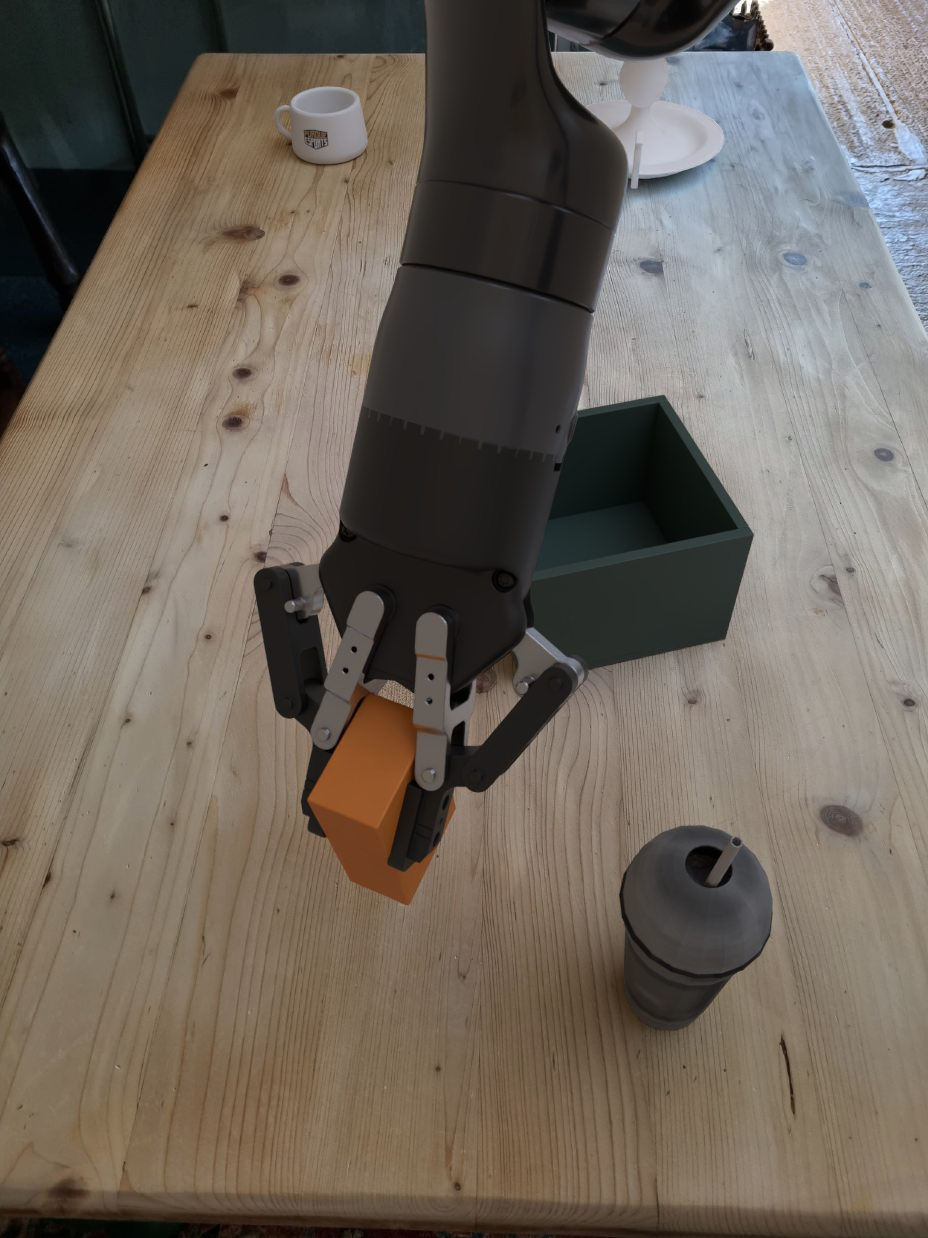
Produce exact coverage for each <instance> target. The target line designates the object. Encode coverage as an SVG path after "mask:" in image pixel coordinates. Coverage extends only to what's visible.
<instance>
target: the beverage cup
mask: <svg viewBox="0 0 928 1238" xmlns="http://www.w3.org/2000/svg"><path fill="white" fill-rule="evenodd" d="M772 894H773V893H772V890H771V886H770V881H769V877H768V875H767V873H766V870H765V869H764V866H762V864H761V862H760V860H759V859H758V857H757V855H756V854H755V853H754V852H753V851H751V849H750V848H749V847H748V846H746V844H744V842H743V839H742V838H741V837H740V836H737V835H734V836H733V835H731V834H730V833H728V832H726V831H724V830H722V829H721V828H715V827H711V826H707V825H703V824H696V825H695V824H694V825H692V824H691V825H680V826H675V827H673V828H670V829H667V830H664V831H661V832H660V833H658V834H657V835H656V836H655V837H653V838H652V839H651V840H649V841H648V842H647V843H645V844H644V845H643V846H642V847H641V848H640V849H639V851H637V854H636V855H634V856H633V859H632V860H631V861H630V863H629V864H628V866H627V868H626V870H624V872H623V876H622V880H621V883H620V888H619V893H618V897H619V898H618V899H619V907H620V913H621V919H622V921H623V925H624V929H625V930H624V950H623V983H624V985H623V986H624V994H625V999H626V1002H627V1004H628V1005H629V1008H630V1010H631V1011H632V1012H633V1013H634V1014H635V1016H636V1017H637V1018H638V1020H639V1021H641V1022H643V1023H644V1024H646V1025H647V1026H649V1027H650V1028H653V1029H656V1030H660V1031H663V1032H671V1031H673V1032H675V1031H679V1030H682V1029H684V1028H687V1027H689V1026H690V1025H691V1024H692V1023H694V1021H696V1020H697V1019H698V1017H700V1016H701V1015H702V1014H703V1013H704V1012H705V1011H706V1010H707V1008H708V1007H709V1006H710V1005H711V1004H712V1002H713V1001H714V1000H715V998H716V997H717V996H718V995H719V993H720V992H721V991H722V990H723V989H724V987H725V986H726V985H727V983H728V982H729V981H731V979H732V977H734V976H735V975H736V974H738V973H739V972H741V971H744V970H745V969H746V968H747V967H749V966H750V965H751V964H752V963H753V962H754V961H755V960H757V959H758V958H759V957H760V956H761V954H763V951H764V949H765V948H766V945H767V943H768V942H769V939H770V937H771V932H772V926H773V925H772V923H773V914H774V911H773V907H774V901H773V900H774V898H773V895H772Z"/></svg>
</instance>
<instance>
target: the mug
mask: <svg viewBox="0 0 928 1238" xmlns="http://www.w3.org/2000/svg"><path fill="white" fill-rule="evenodd" d="M361 104H362V103H361V99H360V96H359V95H358V94H357V93H356V91H353V90H352V89H349V88H346V87H340V86H317V87H313V88H308V89H306V90H303V91H301V92H299V93H297V94H296V95H295V96H293V97H292V98H291V100H290V102H289V105H287V104H284V105H280V106H278V107H277V108H276V110H275V111H274V115H273V118H274V125H275V127H276V129H277V131H278V132H279V133H280V135H282V136H283V137H285V138H287V139H289V140H291V146H292V147H291V148H292V151H293V153H294V154H295V155H296V156H297V157H299V159H301V160H303V161H305V162H308V163H311V164H316V165H334V164H340V163H345V162H349V161H351V160H354V159H356V158H357V157H360V156H361V155H362V154H363V153H364V152H365V151H366V149H367V147H368V144H369V139H368V132H367V127H366V123H365V117H364V114H363V109H362V105H361ZM284 113H290V115H289V116H290V131H289V130H287V129H286V128H285V127H284V126H283V124H282V120H281V116H282V114H284Z"/></svg>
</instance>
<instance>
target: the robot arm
mask: <svg viewBox="0 0 928 1238" xmlns="http://www.w3.org/2000/svg"><path fill="white" fill-rule="evenodd" d="M741 1H742V0H423V18H424V19H423V20H424V21H423V22H424V23H423V24H424V124H423V125H424V127H423V143H422V151H421V156H420V157H421V158H420V162H419V166H418V171H417V175H416V180H415V186H414V190H413V195H412V200H411V204H410V209H409V214H408V219H407V223H406V226H405V227H406V228H405V233H404V237H403V243H402V246H401V252H400V256H399V261H398V263H399V265H400V266H399V267H397V269H396V273H395V277H394V281H393V284H392V287H391V291H390V293H389V297H388V298H387V302H386V305H385V307H384V310H383V312H382V316H381V318H380V322H379V324H378V328H377V330H376V331H377V332H376V335H375V340H374V344H373V348H372V352H371V353H372V354H371V358H370V363H369V368H368V371H367V378H366V383H365V387H364V391H363V397H362V401H361V405H360V411H359V416H358V420H357V425H356V430H355V435H354V439H353V444H352V449H351V454H350V458H349V463H348V468H347V473H346V477H345V481H344V487H343V492H342V495H341V496H342V497H341V501H340V505H339V510H338V511H339V512H338V514H339V515H338V516H339V517H338V518H339V525H338V526H339V527H338V532H337V533H336V537H335V538H334V540H333V541H332V543H331V544H330V545H329V547H328V548H327V549H326V550H325V551H324V552H323V554H322V555H321V557H320V560H319V562H316V563H309V564H305V563H303V562H301V561H295V562H289V563H283V564H279V565H274V566H270V567H263V568H260V569H259V570H258V571H257V572H256V573H255V574H254V577H253V580H252V583H253V591H254V597H255V602H256V607H257V614H258V618H259V624H260V629H261V630H260V631H261V636H262V640H263V641H262V642H263V647H264V652H265V653H264V654H265V658H266V663H267V670H268V674H269V681H270V686H271V693H272V697H273V703H274V708H275V710H276V712H277V713H278V714H279V715H280V716H281V717H282V718H284V719H287V720H292V719H294V720H296V721H297V722H298V723H299V724H300V725H301V726H303V727H304V729H306V730H307V732H308V733H309V735H310V738H311V742H312V746H311V752H310V755H309V756H310V757H309V761H308V764H307V765H308V766H307V769H306V775H305V780H304V784H303V789H302V793H301V798H300V806H301V812H302V815H304V816H306V817H308V821H307V826H306V829H307V832H309V833H312V834H313V835H316V836H317V837H320V838H323V839H327V837H326V835H325V833H324V831H323V829H322V827H321V825H320V824H319V822H318V820H317V818H316V816H315V814H314V812H313V811H312V809H311V807H310V805H309V803H308V801H307V799H308V797H309V795H310V794H311V792H312V790H313V788H314V787H315V785H316V783H317V781H318V780H319V778H320V776H321V774H322V772H323V771H324V769H325V767H326V765H327V764H328V762H329V760H330V758H331V757H332V755H333V753H334V751H335V749H336V748H337V746H338V744H339V742H340V741H341V739H342V737H343V735H344V734H345V732H346V730H347V728H348V726H349V725H350V723H351V721H352V719H353V718H354V716H355V714H356V712H357V711H358V709H359V707H360V705H361V703H362V702H363V700H364V698H365V696H367V695H369V694H371V693H373V694H375V695H378V696H379V693H380V692H381V690H382V689H383V688H384V687H385V686H386V684H387V683H388V681H392V682H395V683H397V684H399V685H401V686H402V687H403V688H405V689H406V690H408V692H411V693H412V694H413V707H412V708H413V726H414V728H416V730H417V740H416V755H415V770H414V775H415V779H413V780H412V781H411V782H409V783H408V784H407V787H406V791H405V795H404V800H403V804H402V808H401V812H400V816H399V820H398V824H397V828H396V832H395V836H394V840H393V844H392V848H391V853H390V856H389V857H388V860H387V865H388V866H390V867H393V868H395V869H397V870H400V871H402V872H406V871H407V870H408V869H409V868H410V867H411V866H412V865H413V864H414V863H415V862H418V863H421V862H422V861H423V860H424V859H425V858H426V857H427V856H428V855H429V854H430V853H431V852H432V851H433V850H434V849H435V848H436V846H437V845H438V844H439V845H440V843H441V841H442V839H443V836H444V834H443V831H444V827H445V823H446V818H447V815H448V811H449V807H450V803H451V800H452V796H453V797H454V792H455V788H466V789H467V790H469V791H470V792H473V793H476V794H477V793H483V792H486V791H487V790H488V789H489V788H491V786H492V785H493V784H494V783H495V782H496V781H497V780H498V779H499V778H500V776H502V775H504V774H505V773H506V772H507V771H508V770H509V769H510V768H511V767H512V766H513V765H514V763H515V762H516V761H517V760H518V759H519V757H520V756H521V755H522V754H523V753H524V752H525V751H526V750H527V748H528V747H529V746H530V745H531V744H532V743H533V742H534V740H535V739H536V738H537V737H538V735H539V734H540V733H541V732H543V730H544V729H545V727H547V725H548V724H549V723H550V722H551V721H552V720H553V718H554V717H555V716H556V715H558V712H560V710H561V709H562V708H563V707H564V706H565V704H567V702H568V701H569V700H570V699H571V698H572V697H573V695H574V694H575V693H576V692H577V691H578V689H579V688H580V687H581V686H582V685H583V684H584V682H585V681H586V680H587V678H588V676H589V670H588V665H587V663H586V662H585V660H584V659H583V658H582V657H580V656H578V655H575V654H569V655H566V656H565V655H564V654H563V653H562V652H561V651H560V650H559V649H557V648H556V647H555V646H554V645H553V644H552V643H551V642H549V641H548V640H547V639H546V638H545V637H544V636H543V635H541V634H540V633H539V632H538V631H537V630H536V629H535V628H534V623H535V612H534V608H533V604H532V599H531V582H532V578H533V574H534V571H535V567H536V563H537V559H538V556H539V552H540V548H541V544H542V541H543V537H544V533H545V529H546V525H547V522H548V518H549V514H550V510H551V506H552V503H553V499H554V495H555V491H556V487H557V483H558V479H559V476H560V472H561V468H562V464H563V461H564V457H565V453H566V449H567V446H568V444H569V442H571V440H572V437H573V433H574V429H575V426H576V422H577V418H578V414H577V411H578V407H579V404H580V401H581V397H582V392H583V387H584V383H585V378H586V371H587V366H588V365H587V364H588V363H587V362H588V356H589V347H590V340H591V334H592V328H593V323H594V319H595V318H594V315H593V314H594V313H595V312H596V310H597V306H598V303H599V298H600V295H601V291H602V287H603V284H604V279H605V276H606V275H605V274H606V272H607V267H608V265H609V260H610V256H611V252H612V249H613V244H614V241H615V237H616V236H615V235H616V234H617V230H618V227H619V223H620V219H621V216H622V211H623V208H624V202H625V198H626V194H627V188H628V181H629V178H628V175H629V162H628V156H627V153H626V150H625V148H624V146H623V144H622V143H621V141H620V140H619V138H618V137H617V136H616V135H615V133H614V132H613V131H612V130H611V129H610V128H609V127H608V126H607V125H606V124H605V123H604V122H602V121H601V120H600V119H599V118H598V117H596V116H595V115H594V114H593V113H592V112H591V111H589V110H588V109H587V108H586V107H585V106H586V105H584V104H583V103H582V102H580V101H579V100H578V99H577V98H576V97H575V96H574V95H573V93H572V92H571V91H570V90H569V89H568V88H567V87H566V84H564V82H563V80H562V78H561V77H560V76H559V75H558V73H557V70H556V67H555V64H554V60H553V56H552V49H551V44H550V36H549V32H550V33H553V34H555V35H557V36H559V37H561V38H563V39H565V40H568V41H570V42H572V43H573V44H574V43H575V44H576V45H578V46H581V48H584V49H587V50H589V51H591V52H593V53H594V54H598V56H602V57H605V58H607V59H610V60H616V61H620V62H624V61H626V62H645V61H653V60H658V59H663V58H665V59H666V58H670V57H673V56H676V55H679V54H682V53H683V52H685V51H687V50H690V49H691V48H692V47H694V46H695V45H697V44H698V43H700V42H701V41H702V40H703V39H705V38H706V37H707V36H708V35H709V34H710V33H711V32H712V31H713V30H714V29H715V28H716V27H717V26H718V25H719V24H720V23H721V22H722V20H724V19H725V18H726V17H727V15H728V14H729V13H730V12H731V11H732V10H733V9H734V8H735V7H736V6H737V5H738V4H740V2H741ZM325 600H326V602H327V604H328V608H329V609H330V610H329V611H330V612H331V615H332V618H333V620H334V624H335V626H336V629H337V631H338V634H339V638H340V639H341V641H340V643H339V645H338V647H337V650H336V653H335V656H334V657H333V661H332V663H331V664H330V667H329V670H328V666H327V661H326V655H325V648H324V644H323V637H322V631H321V625H320V620H319V614H320V613H321V612H322V611H323V608H324V603H325ZM511 651H513V652H514V653H515V655H516V657H517V659H518V669H517V668H516V671H515V673H514V675H513V677H512V689H513V691H514V693H515V694H516V695H517V696H518V698H520V699H519V700H518V701H517V702H516V704H515V705H514V706H513V707H512V708H511V709H510V711H509V712H508V713H507V714H506V716H505V717H504V718H503V719H502V720H501V722H499V724H498V725H497V726H496V727H495V728H494V729H493V731H492V732H491V733H490V734H489V735H488V737H487V738H486V740H484V741H483V743H481V745H469V734H470V721H471V717H472V716H473V714H474V710H475V708H476V707H475V706H476V695H477V682H478V678H479V677H480V676H482V675H483V674H485V673H486V672H487V671H489V670H490V669H491V668H493V667H494V666H495V665H496V664H497V663H498V662H500V661H501V660H503V659H505V657H506V656H508V655H509V654H511ZM442 835H443V836H442ZM441 838H442V839H441ZM439 845H438V846H439Z"/></svg>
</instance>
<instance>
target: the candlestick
mask: <svg viewBox="0 0 928 1238" xmlns="http://www.w3.org/2000/svg"><path fill="white" fill-rule="evenodd" d="M618 76H619V85H620V86H619V87H620V89H621V92H622V94H623V96H624V98H617V99H610V100H609V99H608V100H603V101H602V100H601V101H597V102H593V103H590V104H589V103H588V104H586V105H584V106H585V107H586V108H587V109H588V110H589V111H591V112H592V113H593V114H594V115H595V116H596V117H598V118H599V119H600V120H601V121H602V122H604V123H605V124H606V125H607V126H608V127H609V128H610V129H611V130H612V131H613V132H614V133H615V135H616V136H617V137H618V138H619V140H620V141H621V143H622V144H623V146H624V148H625V150H626V153H627V156H628V162H629V175H628V179H630V189H638V187H639V186H638V185H639V180H641V179H643V180H649V179H656V178H664V177H668V176H673V175H675V174H679V173H681V172H684V171H687V170H690V169H693V168H697V167H699V166H701V165H703V164H705V163H707V162H709V161H711V160H713V158H715V157H716V156H717V155H718V154H719V153H720V152H721V150H722V149H723V146H724V144H725V134H724V131H723V129H722V127H721V126H720V125H719V124H718V123H717V122H716V121H715V120H714V119H713V118H711V116H709V115H707V114H706V113H704V112H702V111H700V110H698V109H696V108H693V107H690V106H688V105H685V104H681V103H677V102H672V101H666V100H662V99H660V98H661V96H662V95H663V93H664V92H665V90H666V88H667V86H668V83H669V80H670V69H669V64H668V62H667V59H666V58H663V59H658V60H653V61H645V62H626V61H623V64H621V67H620V71H619V75H618Z"/></svg>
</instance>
